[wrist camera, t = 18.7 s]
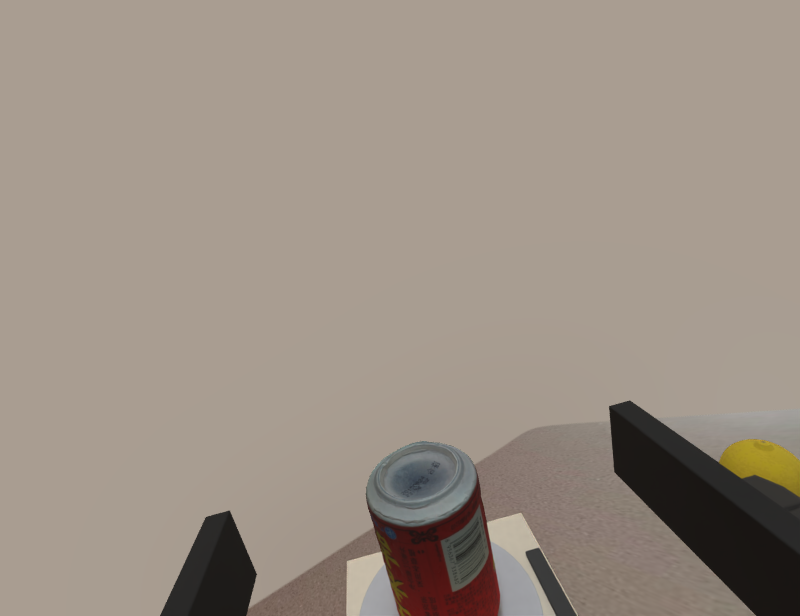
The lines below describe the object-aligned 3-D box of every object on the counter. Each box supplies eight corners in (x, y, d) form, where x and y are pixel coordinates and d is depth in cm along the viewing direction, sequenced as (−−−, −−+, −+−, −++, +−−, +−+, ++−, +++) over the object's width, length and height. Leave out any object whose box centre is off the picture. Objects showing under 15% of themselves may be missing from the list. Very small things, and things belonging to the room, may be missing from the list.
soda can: (521, 594, 27) (495, 447, 24) (473, 701, 22) (432, 534, 19) (438, 552, 32) (406, 424, 29) (383, 633, 27) (337, 489, 24)
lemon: (816, 523, 31) (825, 438, 29) (796, 568, 28) (804, 478, 26) (729, 488, 36) (731, 413, 33) (704, 525, 33) (705, 445, 31)
